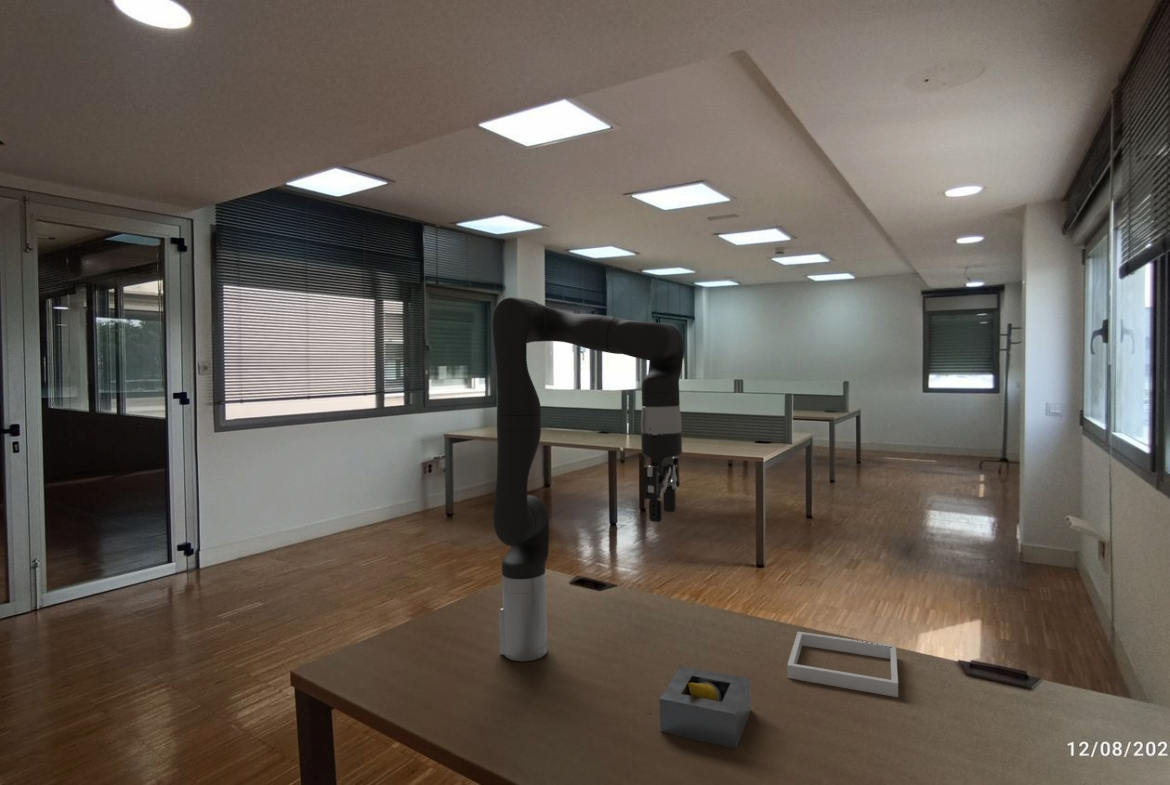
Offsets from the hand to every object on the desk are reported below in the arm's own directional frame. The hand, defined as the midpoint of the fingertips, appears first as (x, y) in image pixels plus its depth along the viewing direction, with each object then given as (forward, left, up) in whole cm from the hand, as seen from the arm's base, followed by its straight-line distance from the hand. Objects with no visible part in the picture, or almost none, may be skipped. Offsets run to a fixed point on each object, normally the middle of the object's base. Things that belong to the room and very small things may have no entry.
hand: (663, 516), depth 117 cm
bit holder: (+10, -9, -32) cm, 35 cm away
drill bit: (+10, -9, -31) cm, 34 cm away
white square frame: (+30, +20, -32) cm, 48 cm away
